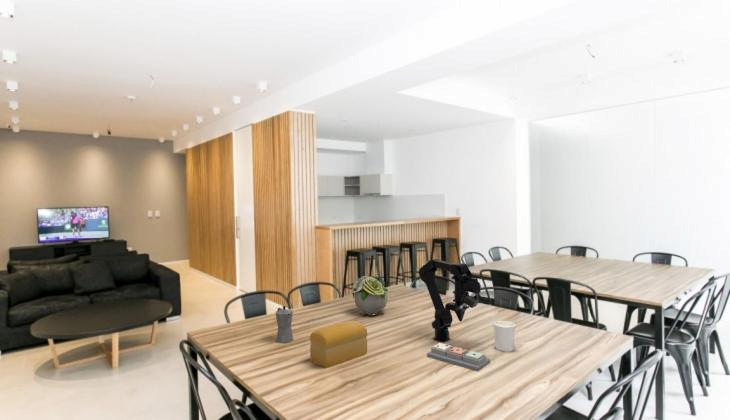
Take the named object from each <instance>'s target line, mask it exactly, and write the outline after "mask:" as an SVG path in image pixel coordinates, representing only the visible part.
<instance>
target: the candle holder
mask: <svg viewBox="0 0 730 420" xmlns="http://www.w3.org/2000/svg"><path fill="white" fill-rule="evenodd" d="M515 329H516V323H514V322H512V321H507V320H497V321H494V322H493V330H494V331H493V332H494V333H493V334H494V346H495V349H496V350H497V351H501V352H505V353H507V352H513V351H514V349H515V332H516V330H515Z"/></svg>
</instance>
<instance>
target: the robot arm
mask: <svg viewBox="0 0 730 420" xmlns="http://www.w3.org/2000/svg"><path fill="white" fill-rule="evenodd" d="M438 269H439V270H442V271H443V270H444V271H447V272H449V273H450V274H451V275H453V276H452V277H450V279H451V280H454V291H452V294H454V299H452V301H451V302H447V303H446V304H445V305H444V303H443V300H442V296H441V294H440V292H439V289H438V287H437V283H436V276H437V275H436V272H437V271H438ZM418 276H419V278H420V279H421V281H422V282H423V283H424V284H425V285H426V288H427V290H428V293H429V297H430V299H431V301H432V305H433V307H434V320H433V321H432V322H431V328H432V329H433V330H434V337H433V338H432V340H433V339H434V341H438V342H440V343H445V342H446V341H448V340H450V339H451V337H450V331H449V328H451V327H452V322H453V317H454V316H453V315H452V313H451V311H452V312H454V313H455V315H456V317H457V319H458V321H459V322H463V319H464V316H465V314H466V313H465V312H466V310H467V309H469V308H471V309H474V308H475V307H477V305H478V303H480V298H479V295H477V294H479V293H480V292H481V289H482V286H481V283H480V282H479V281H478V279H479V278H476V277H475V278H474V276H473V274H472V272H471V270H470V268H469V266H468V264H467V263H464V262H462V263H461V262H457V263H452V262H449V261H446V260H440V259H438V258H433V259H430V260H429V261H428V262H427V263H425V264H424V265H422V266H421V267H419V268H418ZM470 293H472V294H475V295H470Z"/></svg>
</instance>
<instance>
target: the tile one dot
mask: <svg viewBox="0 0 730 420" xmlns="http://www.w3.org/2000/svg"><path fill="white" fill-rule="evenodd" d="M484 355H485V353H480V352H477V351H473V350H470V351H469V353H467V354H466V355H465V357H468V358H471V359H475V360H479V359H481V358H482V357H484Z"/></svg>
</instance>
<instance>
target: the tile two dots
mask: <svg viewBox="0 0 730 420" xmlns="http://www.w3.org/2000/svg"><path fill="white" fill-rule="evenodd" d="M432 347H433V348H434V349H438V350H442V351H447V350H448V349H450V348H451V347H452V345H449V344H446V343H444V342H438V343H437V344H435V345H433V346H432Z"/></svg>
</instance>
